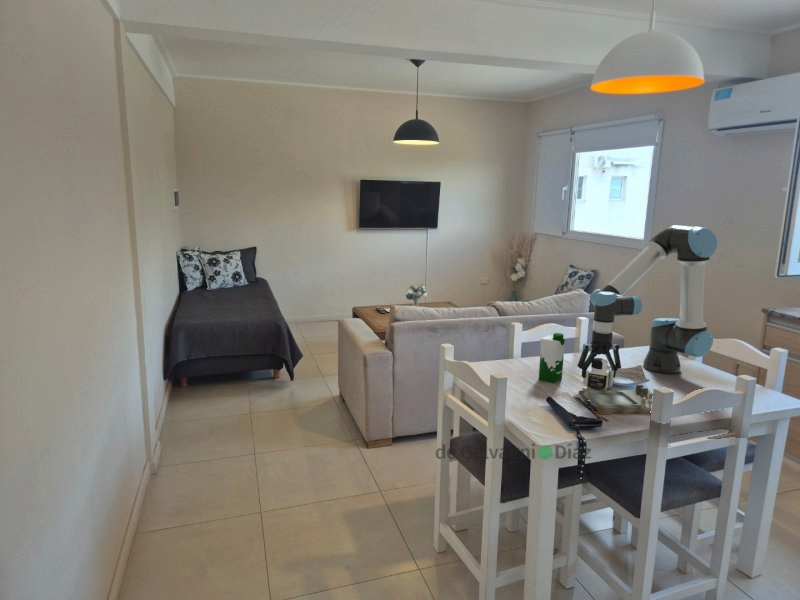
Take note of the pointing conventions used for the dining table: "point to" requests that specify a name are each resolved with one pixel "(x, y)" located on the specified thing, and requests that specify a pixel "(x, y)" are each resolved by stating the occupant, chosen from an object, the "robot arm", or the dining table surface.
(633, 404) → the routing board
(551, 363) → the milk carton
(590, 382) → the medicine bottle
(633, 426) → the dining table surface
